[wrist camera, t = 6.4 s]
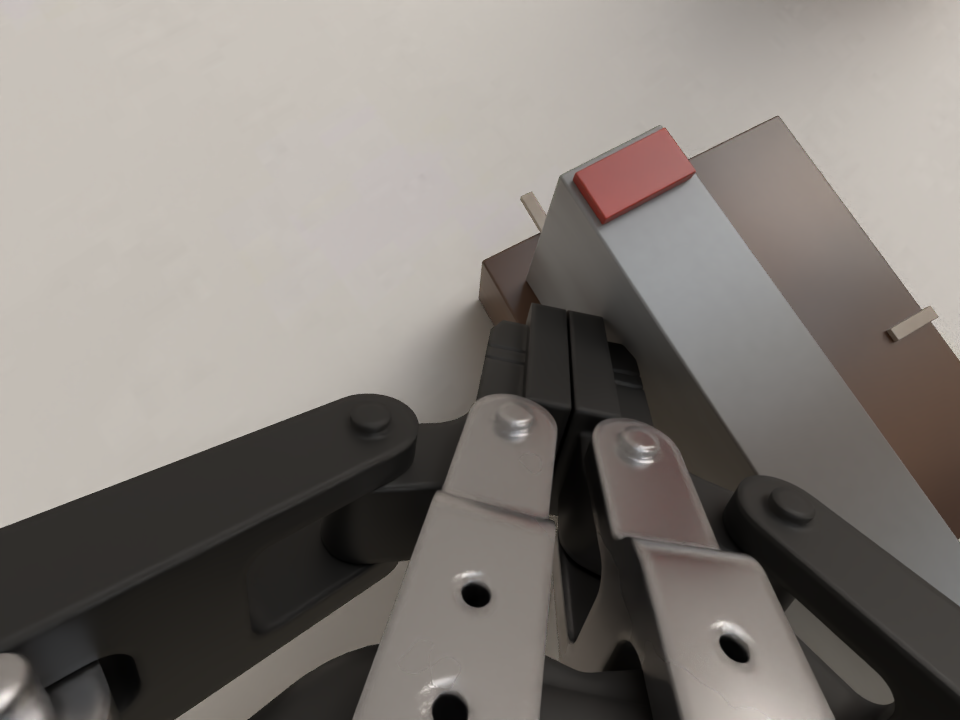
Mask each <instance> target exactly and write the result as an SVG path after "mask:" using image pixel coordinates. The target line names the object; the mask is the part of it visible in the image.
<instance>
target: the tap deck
mask: <svg viewBox="0 0 960 720" xmlns="http://www.w3.org/2000/svg"><path fill="white" fill-rule="evenodd" d="M688 160H689V161H690V163H691V164H692V166H693V167H694V168H695V170H696V172H695V174H696V175H697V176H698V178H699V179H700V181H701V182H702V183H703V185H704V186H705V188H706V189H707V190H708V192H709V193H710V195H711V196H712V197H713V199H714V200H715V202H716V203H717V204H718V206H719V207H720V209H721V210H722V211H723V213H724V214H725V215H726V217H727V218H728V220H729V221H730V222H731V224H732V225H733V227H734V228H735V229H736V231H737V232H738V234H739V235H740V236H741V238H742V239H743V241H744V242H745V243H746V245H747V246H748V248H749V249H750V250H751V252H752V253H753V255H754V256H755V257H756V259H757V260H758V262H759V263H760V264H761V266H762V267H763V269H764V270H765V271H766V273H767V274H768V276H769V277H770V278H771V280H772V281H773V282H774V284H775V285H776V287H777V288H778V289H779V291H780V292H781V294H782V295H783V296H784V298H785V299H786V301H787V302H788V303H789V305H790V306H791V308H792V309H793V310H794V312H795V313H796V315H797V316H798V317H799V319H800V320H801V322H802V323H803V324H804V326H805V327H806V329H807V330H808V331H809V333H810V334H811V336H812V337H813V338H814V340H815V341H816V343H817V344H818V345H819V347H820V348H821V349H822V351H823V352H824V354H825V355H826V356H827V358H828V359H829V361H830V362H831V363H832V365H833V366H834V368H835V369H836V370H837V372H838V373H839V375H840V376H841V377H842V379H843V380H844V382H845V383H846V384H847V386H848V387H849V389H850V390H851V391H852V393H853V394H854V396H855V397H856V398H857V400H858V401H859V403H860V404H861V405H862V407H863V408H864V410H865V411H866V412H867V414H868V415H869V416H870V418H871V419H872V421H873V422H874V423H875V425H876V426H877V428H878V429H879V430H880V432H881V433H882V435H883V436H884V437H885V439H886V440H887V442H888V443H889V444H890V446H891V447H892V449H893V450H894V451H895V453H896V454H897V456H898V457H899V458H900V460H901V461H902V463H903V464H904V465H905V467H906V468H907V470H908V471H909V472H910V474H911V475H912V477H913V478H914V479H915V481H916V482H917V483H918V485H919V486H920V488H921V489H922V490H923V492H924V493H925V495H926V496H927V497H928V499H929V500H930V502H931V503H932V504H933V506H934V507H935V509H936V510H937V511H938V513H939V514H940V516H941V517H942V518H943V520H944V521H945V523H946V524H947V525H948V527H949V528H950V530H951V531H952V532H953V534H954V535H955V537H956V538H957V539H960V361H959V359H958V358H957V357H956V355H955V354H954V353H953V351H952V350H951V349H950V347H949V346H948V345H947V343H946V342H945V340H944V339H943V338H942V336H941V335H940V334H939V332H938V331H937V330H936V328H935V327H934V326H933V324H932V323H931V321H933V320H934V319H936V318H938V315H937V314H936V313H935V311H934V310H933V309H932V307H931V306H929V307H926V308H924V309H921V308H920V307H919V305H918V304H917V303H916V301H915V300H914V298H913V297H912V296H911V294H910V293H909V292H908V290H907V289H906V288H905V286H904V285H903V284H902V282H901V281H900V279H899V278H898V277H897V275H896V274H895V273H894V271H893V270H892V269H891V267H890V266H889V265H888V263H887V262H886V260H885V259H884V258H883V256H882V255H881V254H880V252H879V251H878V250H877V248H876V247H875V246H874V244H873V243H872V242H871V240H870V239H869V237H868V236H867V235H866V233H865V232H864V231H863V229H862V228H861V227H860V225H859V224H858V223H857V221H856V220H855V218H854V217H853V216H852V214H851V213H850V212H849V210H848V209H847V208H846V206H845V205H844V204H843V202H842V201H841V199H840V198H839V197H838V195H837V194H836V193H835V191H834V190H833V189H832V187H831V186H830V185H829V183H828V182H827V181H826V179H825V178H824V176H823V175H822V174H821V172H820V171H819V170H818V168H817V167H816V166H815V164H814V163H813V162H812V160H811V159H810V157H809V156H808V155H807V153H806V152H805V151H804V149H803V148H802V147H801V145H800V144H799V143H798V141H797V140H796V138H795V137H794V136H793V134H792V133H791V132H790V130H789V129H788V128H787V126H786V125H785V124H784V122H783V121H782V119H781V118H780V117H779V116H776V117H774V118H772V119H769V120H767V121H765V122H763V123H761V124H759V125H757V126H755V127H753V128H751V129H749V130H747V131H745V132H743V133H741V134H739V135H737V136H735V137H733V138H731V139H729V140H727V141H725V142H723V143H721V144H719V145H717V146H715V147H713V148H711V149H709V150H707V151H705V152H703V153H701V154H698V155H696V156H694V157H692V158H690V159H688ZM520 200H521V201H522V203H523V205H524V206H525V208H526V210H527V211H528V213H529V215H530V216H531V218H532V220H533V221H534V223H535V224H536V226H537V228H538V229H539V231H540V233H538V234H536V235H534V236H532V237H530V238H528V239H526V240H524V241H522V242H520V243H518V244H516V245H514V246H512V247H510V248H508V249H506V250H504V251H502V252H500V253H498V254H496V255H494V256H491V257H489V258H487V259H485V260H483V262H482V269H481V279H480V289H479V300H480V302H481V304H482V305H483V307H484V309H485V311H486V312H487V314H488V316H489V318H490V319H491V321H492V323H493V325H494V326H496V325H497V324H499V323H500V322H501V321H502V320H506V321H511V322H515V323H520V324H525V325H526V321H527V317H528V313H529V309H530V306H531V303H536V304H541V303H540V301H539V300H538V298H537V297H536V295H535V293H534V292H533V290H532V288H531V287H530V285H529V284H528V282H527V280H526V277H527V274H528V271H529V268H530V265H531V262H532V259H533V256H534V253H535V250H536V247H537V244H538V241H539V238H540V234H541V231H542V228H543V225H544V222H545V219H546V216H547V215H546V214H545V212H544V210H543V209H542V207H541V205H540V204H539V202H538V201H537V199H536V197H535V196H534V194H533V192H530V193H527V194H525V195H523V196H521V199H520Z"/></svg>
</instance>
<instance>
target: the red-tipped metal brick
mask: <svg viewBox="0 0 960 720" xmlns="http://www.w3.org/2000/svg"><path fill="white" fill-rule="evenodd" d="M695 172H696V170H695V168H694V167H693V166H692V164H691V163H690V161H689V160H688V159H687V157H686V156H685V154H684V153H683V152H682V150H681V149H680V147H679V146H678V145H677V143H676V142H675V141H674V139H673V138H672V136H671V135H670V134H669V132H668V131H667V129H666V128H662V126H660V125H659V126H657V127H655V128H653V129H651V130H649V131H647V132H645V133H643V134H641V135H639V136H637V137H635V138H633V139H631V140H629V141H627V142H625V143H623V144H621V145H619V146H617V147H615V148H613V149H611V150H609V151H607V152H605V153H603V154H601V155H599V156H597V157H595V158H593V159H591V160H590V161H588V162H586V163H584V164H582V165H580V166H578V167H576V168H574V169H572V170H570V171H568V172H566V173H564V174H562V175H560V177H559V179H558V182H557V185H556V189H555V192H554V195H553V198H552V201H551V204H550V207H549V210H548V213H547V216H546V219H545V222H544V225H543V228H542V231H541V234H540V238H539V241H538V244H537V247H536V250H535V253H534V256H533V259H532V262H531V265H530V268H529V271H528V274H527V277H526V280H527V282H528V284H529V285H530V287H531V288H532V290H533V292H534V293H535V295H536V297H537V298H538V300H539V301H540V303H541V305H546V306H551V307H556V308H561V309H566V312H567V311H568V310H571V311H576V312H581V313H586V314H591V315H596V316H601V317H603V320H604V325H605V331H606V336H607V341H609V342H614V343H619V344H622V345H623V346H625V347H626V349H627V350H628V351H629V352H630V353H631V354H632V355H633V356H634V358H635V359H636V361H637V365H638V369H639V372H640V376H639V377H641V380H642V384H643V390H644V392H645V395H646V399H647V403H648V407H649V411H650V414H651V418H652V422H653V426H654V428H656V429H658V430H659V431H661V432H662V433H664V434H665V435H666V436H668V437H669V438H670V439H671V440H672V441H673V442H674V443H675V445H676V446H677V447H678V449H679V451H680V453H681V455H682V458H683V460H684V463H685V465H686V467H687V470H688V472H690V473H692V474H694V475H696V476H698V477H700V478H702V479H704V480H707V481H709V482H711V483H714V484H716V485H718V486H721V487H723V488H725V489H728V490H730V491H732V492H735V490H736V488H737V487H738V485H739V483H740V482H741V481H742V480H743V479H745V478H746V477H749V476H754V475H765V476H771V477H775V478H779V479H782V480H784V481H787V482H790V483H792V484H794V485H796V486H798V487H799V488H801V489H803V490H805V491H806V492H808V493H809V494H811V495H812V496H813V497H815V498H816V499H817V500H819V501H820V502H821V503H823V504H824V505H825V506H827V507H828V508H829V509H831V510H832V511H833V512H835V513H836V514H837V515H839V516H840V517H841V518H843V519H844V520H845V521H847V522H848V523H849V524H851V525H852V526H853V527H855V528H856V529H857V530H859V531H860V532H861V533H863V534H864V535H865V536H867V537H868V538H869V539H871V540H872V541H873V542H875V543H876V544H877V545H879V546H880V547H881V548H883V549H884V550H885V551H887V552H888V553H889V554H891V555H892V556H893V557H895V558H896V559H897V560H899V561H900V562H901V563H903V564H904V565H905V566H907V567H908V568H909V569H911V570H912V571H913V572H915V573H916V574H917V575H919V576H920V577H921V578H923V579H924V580H925V581H927V582H928V583H929V584H931V585H932V586H933V587H935V588H936V589H937V590H939V591H940V592H941V593H943V594H944V595H945V596H947V597H948V598H949V599H951V600H952V601H953V602H955V603H956V604H957V605H959V606H960V542H959V541H958V539H957V538H956V537H955V535H954V534H953V532H952V531H951V530H950V528H949V527H948V525H947V524H946V523H945V521H944V520H943V518H942V517H941V516H940V514H939V513H938V511H937V510H936V509H935V507H934V506H933V504H932V503H931V502H930V500H929V499H928V497H927V496H926V495H925V493H924V492H923V490H922V489H921V488H920V486H919V485H918V483H917V482H916V481H915V479H914V478H913V477H912V475H911V474H910V472H909V471H908V470H907V468H906V467H905V465H904V464H903V463H902V461H901V460H900V458H899V457H898V456H897V454H896V453H895V451H894V450H893V449H892V447H891V446H890V444H889V443H888V442H887V440H886V439H885V437H884V436H883V435H882V433H881V432H880V430H879V429H878V428H877V426H876V425H875V423H874V422H873V421H872V419H871V418H870V416H869V415H868V414H867V412H866V411H865V410H864V408H863V407H862V405H861V404H860V403H859V401H858V400H857V398H856V397H855V396H854V394H853V393H852V391H851V390H850V389H849V387H848V386H847V384H846V383H845V382H844V380H843V379H842V377H841V376H840V375H839V373H838V372H837V370H836V369H835V368H834V366H833V365H832V363H831V362H830V361H829V359H828V358H827V356H826V355H825V354H824V352H823V351H822V349H821V348H820V347H819V345H818V344H817V343H816V341H815V340H814V338H813V337H812V336H811V334H810V333H809V331H808V330H807V329H806V327H805V326H804V324H803V323H802V322H801V320H800V319H799V317H798V316H797V315H796V313H795V312H794V310H793V309H792V308H791V306H790V305H789V303H788V302H787V301H786V299H785V298H784V296H783V295H782V294H781V292H780V291H779V289H778V288H777V287H776V285H775V284H774V282H773V281H772V280H771V278H770V277H769V276H768V274H767V273H766V271H765V270H764V269H763V267H762V266H761V264H760V263H759V262H758V260H757V259H756V257H755V256H754V255H753V253H752V252H751V250H750V249H749V248H748V246H747V245H746V243H745V242H744V241H743V239H742V238H741V236H740V235H739V234H738V232H737V231H736V229H735V228H734V227H733V225H732V224H731V222H730V221H729V220H728V218H727V217H726V215H725V214H724V213H723V211H722V210H721V209H720V207H719V206H718V204H717V203H716V202H715V200H714V199H713V197H712V196H711V195H710V193H709V192H708V190H707V189H706V188H705V186H704V185H703V183H702V182H701V181H700V179H699V178H698V176H697V175H696V174H695ZM784 613H785V615H786V617H787V619H788V621H789V623H790V625H791V627H792V629H793V632H794V633H795V634H796V635H797V636H798V637H799V638H800V639H801V640H802V641H803V642H804V643H805V644H806V645H807V646H808V647H809V648H810V649H811V650H812V651H813V652H814V653H815V654H816V655H817V656H819V657H820V658H821V659H822V660H823V661H824V662H825V663H826V664H827V665H828V666H829V667H830V668H831V669H832V670H833V671H834V672H835V673H836V674H837V675H838V676H839V677H840V678H841V679H842V680H844V681H845V682H846V683H847V684H848V685H849V686H850V687H851V688H852V689H853V690H854V691H855V692H856V693H857V694H859V695H860V696H861V697H863V698H865V699H866V700H868V701H870V702H873V703H876V704H881V705H887V704H890V703H892V702H894V698H893V695H892V693H891V690H890V688H889V687H888V685H887V684H886V682H885V681H884V680H883V679H882V677H881V676H880V675H879V674H878V673H877V672H876V671H875V670H874V669H872V668H871V667H870V666H869V665H868V664H867V663H866V662H865V661H864V660H863V659H861V658H860V657H859V656H858V655H857V654H856V653H855V652H854V651H853V650H852V649H850V648H849V647H848V646H847V645H846V644H845V643H844V642H843V641H842V640H841V639H839V638H838V637H837V636H836V635H835V634H834V633H833V632H832V631H831V630H830V629H829V628H827V627H826V626H825V625H824V624H823V623H822V622H821V621H820V620H819V619H818V618H816V617H815V616H814V615H813V614H812V613H811V612H810V611H809V610H808V609H807V608H805V607H804V606H803V605H802V604H801V603H800V602H799V601H798V600H797V599H796V598H795V600H794V601H793V602H792V603H791V605H790V606H789V607H788V608H787V610H786V611H785V612H784Z"/></svg>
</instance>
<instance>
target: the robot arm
mask: <svg viewBox="0 0 960 720" xmlns="http://www.w3.org/2000/svg"><path fill="white" fill-rule="evenodd" d="M639 376H640V372H639V369H638V365H637V361H636V359H635V358H634V356H633V355H632V354H631V353H630V352H629V351H628V350H627V349H626V347H625V346H623V345H622V344H619V343H614V342H609V341H607V336H606V331H605V325H604V320H603V317H601V316H596V315H591V314H586V313H581V312H576V311H571V310H568V311H567V312H566V309H561V308H556V307H551V306H546V305H541V304H536V303H531V306H530V309H529V313H528V317H527V321H526V325H525V324H520V323H515V322H511V321H506V320H502V321H501V322H500V323H499V324H497V325H496V326H495V327H494V328H492V329H491V331H490V336H489V341H488V346H487V351H486V355H485V360H484V365H483V370H482V375H481V380H480V385H479V389H478V394H477V399H476V402H475V403H474V404H473V405H472V407H471V409H470V411H469V412H468V413H467V414H465V415H464V416H462V417H460V418H458V419H455V420H452V421H448V422H443V423H421V424H418V419H417V417H416V415H415V414H414V412H413V411H412V410H411V409H410V408H409V407H408V406H407V405H405V404H404V403H403V402H401V401H399V400H397V399H394V398H391V397H388V396H384V395H379V394H357V395H351V396H348V397H344V398H341V399H339V400H336V401H334V402H331V403H328V404H326V405H323V406H320V407H318V408H315V409H313V410H310V411H307V412H305V413H302V414H299V415H297V416H294V417H292V418H289V419H286V420H284V421H281V422H278V423H276V424H273V425H271V426H268V427H265V428H263V429H260V430H257V431H255V432H252V433H250V434H247V435H244V436H242V437H239V438H237V439H234V440H231V441H229V442H226V443H223V444H221V445H218V446H216V447H213V448H210V449H208V450H205V451H202V452H200V453H197V454H195V455H192V456H189V457H187V458H184V459H181V460H179V461H176V462H174V463H171V464H168V465H166V466H163V467H160V468H158V469H155V470H153V471H150V472H147V473H145V474H142V475H139V476H137V477H134V478H132V479H129V480H126V481H124V482H121V483H118V484H116V485H113V486H111V487H108V488H105V489H103V490H100V491H97V492H95V493H92V494H90V495H87V496H84V497H82V498H79V499H76V500H74V501H71V502H69V503H66V504H63V505H61V506H58V507H55V508H53V509H50V510H48V511H45V512H42V513H40V514H37V515H34V516H32V517H29V518H27V519H24V520H21V521H19V522H16V523H13V524H11V525H8V526H6V527H3V528H0V720H175V719H176V718H178V717H179V716H181V715H182V714H184V713H185V712H187V711H188V710H190V709H191V708H193V707H194V706H196V705H197V704H198V703H200V702H201V701H203V700H204V699H206V698H207V697H209V696H210V695H212V694H213V693H215V692H216V691H218V690H219V689H221V688H222V687H223V686H225V685H226V684H228V683H229V682H231V681H232V680H234V679H235V678H237V677H238V676H240V675H241V674H243V673H244V672H246V671H247V670H249V669H250V668H251V667H253V666H254V665H256V664H257V663H259V662H260V661H262V660H263V659H265V658H266V657H268V656H269V655H271V654H272V653H274V652H275V651H276V650H278V649H279V648H281V647H282V646H284V645H285V644H287V643H288V642H290V641H291V640H293V639H294V638H296V637H297V636H299V635H300V634H301V633H303V632H304V631H306V630H307V629H309V628H310V627H312V626H313V625H315V624H316V623H318V622H319V621H321V620H322V619H324V618H325V617H327V616H328V615H329V614H331V613H332V612H334V611H335V610H337V609H338V608H340V607H341V606H343V605H344V604H346V603H347V602H349V601H350V600H352V599H353V598H354V597H356V596H357V595H359V594H360V593H362V592H363V591H365V590H366V589H368V588H369V587H371V586H372V585H374V584H375V583H377V582H378V581H380V580H381V579H382V578H384V577H385V576H387V575H388V574H389V573H390V572H391V571H392V570H393V569H394V568H395V567H396V565H397V564H398V562H399V561H406V560H410V562H409V565H408V567H407V570H406V573H405V576H404V578H403V581H402V584H401V587H400V589H399V592H398V595H397V598H396V600H395V603H394V606H393V609H392V611H391V614H390V617H389V620H388V622H387V625H386V628H385V631H384V633H383V636H382V639H381V642H380V644H376V645H371V646H367V647H363V648H360V649H357V650H354V651H351V652H348V653H345V654H343V655H341V656H339V657H337V658H335V659H332V660H330V661H328V662H326V663H324V664H323V665H321V666H319V667H318V668H316V669H314V670H313V671H311V672H309V673H308V674H306V675H305V676H303V677H302V678H300V679H299V680H298V681H296V682H295V683H294V684H292V685H291V686H290V687H289V688H287V689H286V690H285V691H283V692H282V693H281V694H280V695H278V696H277V697H276V698H275V699H273V700H272V701H271V702H269V703H268V704H267V705H266V706H264V707H263V708H262V709H261V710H259V711H258V712H257V713H256V714H254V715H253V716H252V717H250V718H249V719H248V720H960V606H959V605H957V604H956V603H955V602H953V601H952V600H951V599H949V598H948V597H947V596H945V595H944V594H943V593H941V592H940V591H939V590H937V589H936V588H935V587H933V586H932V585H931V584H929V583H928V582H927V581H925V580H924V579H923V578H921V577H920V576H919V575H917V574H916V573H915V572H913V571H912V570H911V569H909V568H908V567H907V566H905V565H904V564H903V563H901V562H900V561H899V560H897V559H896V558H895V557H893V556H892V555H891V554H889V553H888V552H887V551H885V550H884V549H883V548H881V547H880V546H879V545H877V544H876V543H875V542H873V541H872V540H871V539H869V538H868V537H867V536H865V535H864V534H863V533H861V532H860V531H859V530H857V529H856V528H855V527H853V526H852V525H851V524H849V523H848V522H847V521H845V520H844V519H843V518H841V517H840V516H839V515H837V514H836V513H835V512H833V511H832V510H831V509H829V508H828V507H827V506H825V505H824V504H823V503H821V502H820V501H819V500H817V499H816V498H815V497H813V496H812V495H811V494H809V493H808V492H806V491H805V490H803V489H801V488H799V487H798V486H796V485H794V484H792V483H790V482H787V481H784V480H782V479H779V478H775V477H771V476H765V475H754V476H749V477H746V478H745V479H743V480H742V481H741V482H740V483H739V485H738V487H737V488H736V490H735V492H732V491H730V490H728V489H725V488H723V487H721V486H718V485H716V484H714V483H711V482H709V481H707V480H704V479H702V478H700V477H698V476H696V475H694V474H692V473H690V472H688V470H687V467H686V465H685V463H684V460H683V458H682V455H681V453H680V451H679V449H678V447H677V446H676V445H675V443H674V442H673V441H672V440H671V439H670V438H669V437H668V436H666V435H665V434H664V433H662V432H661V431H659V430H658V429H656V428H654V426H653V422H652V418H651V414H650V411H649V407H648V403H647V399H646V395H645V392H644V390H643V384H642V380H641V377H639ZM549 514H551V515H556V516H558V530H557V532H556V535H555V522H554V521H552V520H549V519H548V517H549ZM552 577H553V589H554V600H555V612H556V624H557V635H558V647H559V662H558V661H556V660H554V659H552V658H550V657H548V656H546V655H545V649H546V637H547V626H548V614H549V603H550V591H551V580H552ZM795 598H796V599H797V600H798V601H799V602H800V603H801V604H802V605H803V606H804V607H805V608H807V609H808V610H809V611H810V612H811V613H812V614H813V615H814V616H815V617H816V618H818V619H819V620H820V621H821V622H822V623H823V624H824V625H825V626H826V627H827V628H829V629H830V630H831V631H832V632H833V633H834V634H835V635H836V636H837V637H838V638H839V639H841V640H842V641H843V642H844V643H845V644H846V645H847V646H848V647H849V648H850V649H852V650H853V651H854V652H855V653H856V654H857V655H858V656H859V657H860V658H861V659H863V660H864V661H865V662H866V663H867V664H868V665H869V666H870V667H871V668H872V669H874V670H875V671H876V672H877V673H878V674H879V675H880V676H881V677H882V679H883V680H884V681H885V682H886V684H887V685H888V687H889V688H890V690H891V693H892V695H893V698H894V702H892V703H890V704H887V705H881V704H876V703H873V702H870V701H868V700H866V699H865V698H863V697H861V696H860V695H859V694H857V693H856V692H855V691H854V690H853V689H852V688H851V687H850V686H849V685H848V684H847V683H846V682H845V681H844V680H842V679H841V678H840V677H839V676H838V675H837V674H836V673H835V672H834V671H833V670H832V669H831V668H830V667H829V666H828V665H827V664H826V663H825V662H824V661H823V660H822V659H821V658H820V657H819V656H817V655H816V654H815V653H814V652H813V651H812V650H811V649H810V648H809V647H808V646H807V645H806V644H805V643H804V642H803V641H802V640H801V639H800V638H799V637H798V636H797V635H796V634H795V633H794V632H793V629H792V627H791V625H790V623H789V621H788V619H787V617H786V615H785V613H784V612H785V611H786V610H787V608H788V607H789V606H790V605H791V603H792V602H793V601H794V600H795Z"/></svg>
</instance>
